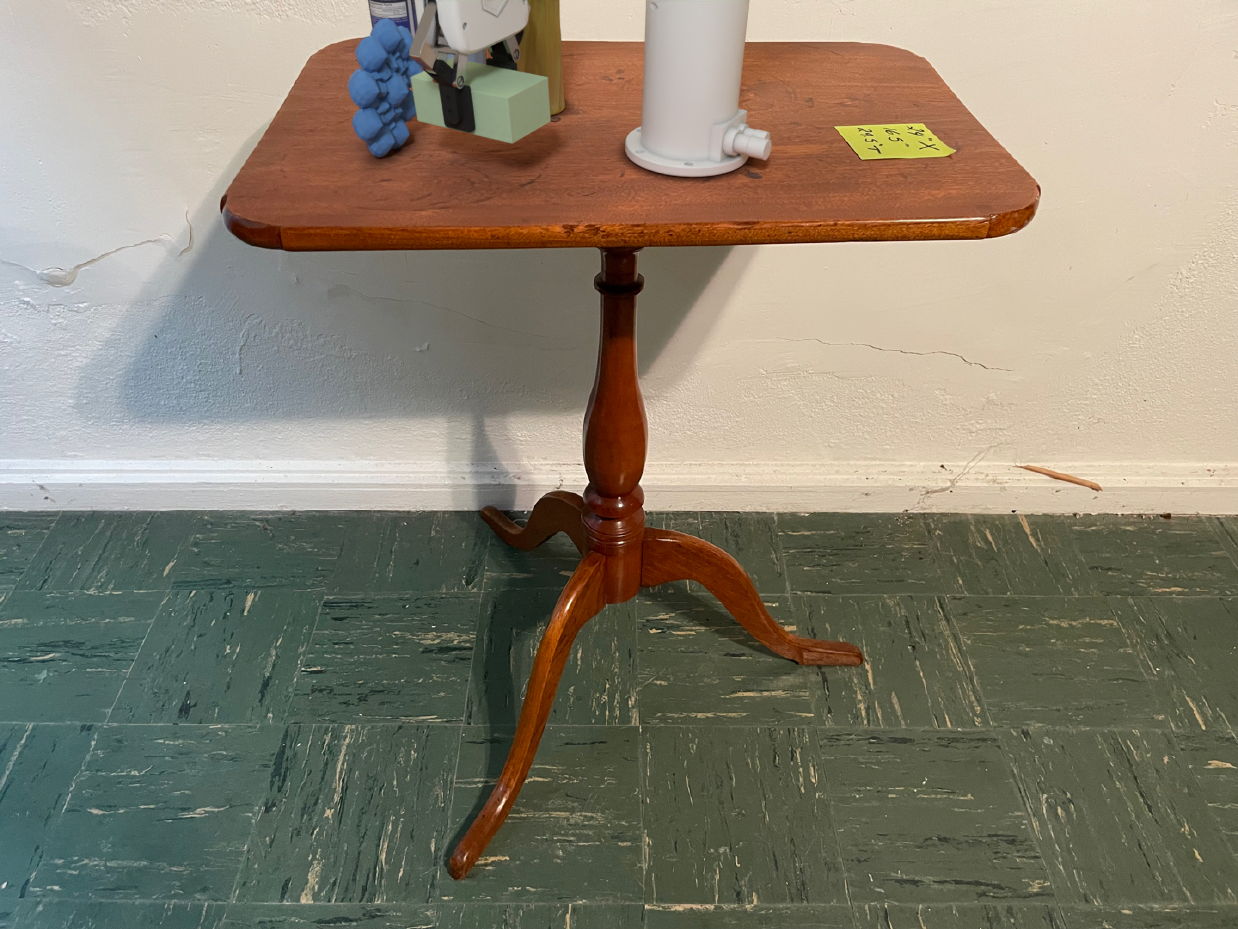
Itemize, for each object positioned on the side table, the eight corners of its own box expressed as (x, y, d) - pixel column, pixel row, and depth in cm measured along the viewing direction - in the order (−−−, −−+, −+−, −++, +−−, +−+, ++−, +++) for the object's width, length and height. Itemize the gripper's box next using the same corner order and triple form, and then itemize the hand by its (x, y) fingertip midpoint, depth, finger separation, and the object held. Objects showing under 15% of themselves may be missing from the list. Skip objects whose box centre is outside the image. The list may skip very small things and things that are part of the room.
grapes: (386, 122, 99) (368, 1, 91) (443, 131, 97) (430, 8, 90) (326, 163, 90) (301, 33, 83) (388, 173, 89) (368, 42, 81)
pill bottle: (393, 42, 120) (382, -44, 114) (430, 49, 118) (421, -38, 112) (366, 54, 116) (353, -34, 110) (403, 61, 114) (392, -28, 108)
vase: (529, 121, 100) (523, -24, 91) (500, 104, 104) (492, -37, 95) (575, 110, 103) (575, -32, 94) (546, 94, 107) (542, -44, 97)
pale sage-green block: (551, 121, 85) (548, 76, 83) (512, 143, 82) (507, 98, 79) (458, 100, 90) (452, 57, 87) (417, 121, 86) (410, 76, 83)
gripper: (422, -85, 67) (455, 158, 79) (557, -124, 78) (569, 94, 89) (346, -94, 70) (389, 141, 82) (486, -131, 81) (507, 81, 93)
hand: (483, 114), depth 85 cm, fingers closed on pale sage-green block, 6 cm apart
